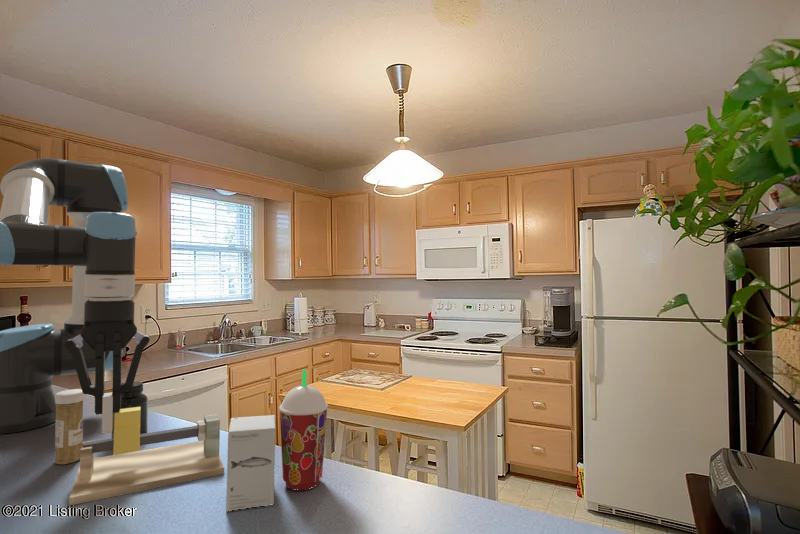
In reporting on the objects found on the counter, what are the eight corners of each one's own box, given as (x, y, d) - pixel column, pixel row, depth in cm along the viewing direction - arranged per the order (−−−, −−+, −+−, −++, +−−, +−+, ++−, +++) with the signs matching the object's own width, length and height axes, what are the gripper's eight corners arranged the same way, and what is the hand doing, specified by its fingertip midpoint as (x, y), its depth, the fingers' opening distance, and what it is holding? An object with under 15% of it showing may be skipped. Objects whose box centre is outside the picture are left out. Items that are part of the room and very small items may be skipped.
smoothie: (336, 480, 80) (337, 368, 80) (304, 500, 73) (305, 377, 73) (301, 469, 84) (303, 363, 85) (267, 487, 77) (269, 371, 77)
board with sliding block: (81, 466, 84) (82, 423, 84) (212, 444, 96) (212, 406, 96) (69, 505, 70) (70, 453, 71) (224, 474, 82) (224, 429, 82)
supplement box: (224, 513, 69) (226, 431, 69) (229, 491, 76) (230, 416, 76) (274, 507, 71) (275, 427, 71) (274, 485, 78) (275, 413, 78)
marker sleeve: (114, 446, 82) (115, 408, 82) (139, 442, 84) (140, 405, 84) (113, 454, 78) (114, 414, 78) (139, 450, 80) (140, 411, 80)
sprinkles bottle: (82, 462, 86) (83, 392, 86) (52, 467, 84) (54, 395, 84) (83, 453, 90) (84, 387, 90) (55, 458, 88) (56, 390, 88)
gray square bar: (84, 451, 79) (84, 442, 79) (212, 431, 89) (212, 423, 89) (83, 454, 77) (83, 445, 77) (213, 434, 88) (213, 425, 88)
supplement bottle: (154, 433, 102) (155, 380, 102) (133, 444, 95) (134, 388, 95) (126, 431, 103) (127, 379, 103) (103, 443, 96) (104, 387, 96)
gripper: (61, 301, 73) (58, 444, 73) (151, 299, 80) (149, 431, 80) (68, 298, 80) (65, 430, 80) (151, 297, 86) (149, 419, 86)
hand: (107, 430), depth 80 cm, fingers closed
